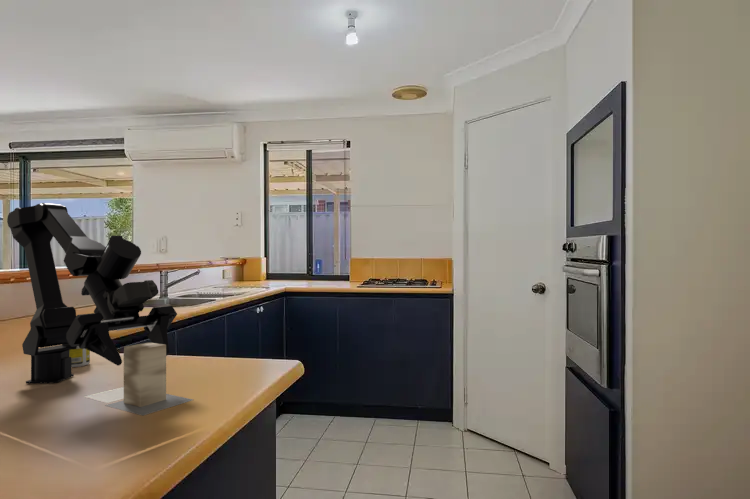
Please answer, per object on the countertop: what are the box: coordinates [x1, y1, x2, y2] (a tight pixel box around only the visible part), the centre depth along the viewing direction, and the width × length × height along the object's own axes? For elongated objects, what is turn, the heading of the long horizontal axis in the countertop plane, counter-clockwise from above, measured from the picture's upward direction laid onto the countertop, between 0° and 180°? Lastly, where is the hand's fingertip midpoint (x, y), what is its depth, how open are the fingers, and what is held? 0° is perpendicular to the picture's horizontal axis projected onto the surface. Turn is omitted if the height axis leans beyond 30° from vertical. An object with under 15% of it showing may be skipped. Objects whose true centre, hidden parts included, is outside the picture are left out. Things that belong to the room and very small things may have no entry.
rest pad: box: [83, 386, 124, 404], centre depth 91 cm, size 8×8×1 cm
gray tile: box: [104, 393, 194, 416], centre depth 85 cm, size 11×10×1 cm
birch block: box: [123, 341, 167, 407], centre depth 86 cm, size 5×5×10 cm
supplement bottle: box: [69, 346, 91, 368], centre depth 118 cm, size 5×5×10 cm
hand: (144, 359), depth 86 cm, fingers open, 9 cm apart
